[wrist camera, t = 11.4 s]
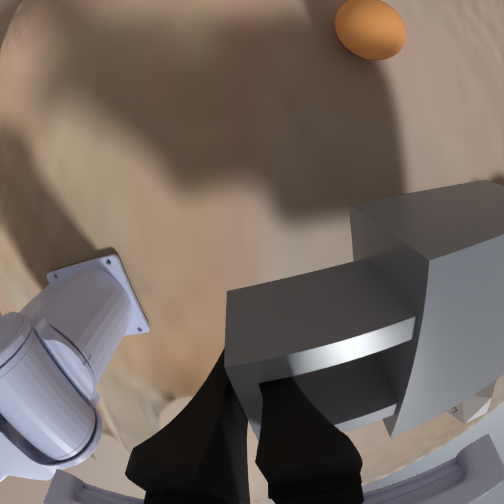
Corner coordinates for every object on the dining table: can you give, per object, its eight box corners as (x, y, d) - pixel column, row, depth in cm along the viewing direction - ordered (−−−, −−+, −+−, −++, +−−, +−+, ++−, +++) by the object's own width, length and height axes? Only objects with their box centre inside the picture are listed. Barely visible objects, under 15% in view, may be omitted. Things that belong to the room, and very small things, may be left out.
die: (468, 344, 27) (460, 407, 21) (506, 360, 24) (502, 419, 18) (440, 370, 33) (426, 425, 27) (476, 383, 30) (467, 436, 24)
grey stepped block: (261, 383, 16) (271, 469, 10) (216, 234, 12) (200, 318, 7) (469, 314, 16) (516, 363, 10) (486, 180, 12) (562, 209, 6)
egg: (357, 66, 13) (356, -6, 9) (324, 51, 16) (320, -7, 12) (417, 71, 13) (421, 7, 9) (379, 53, 16) (379, 0, 12)
